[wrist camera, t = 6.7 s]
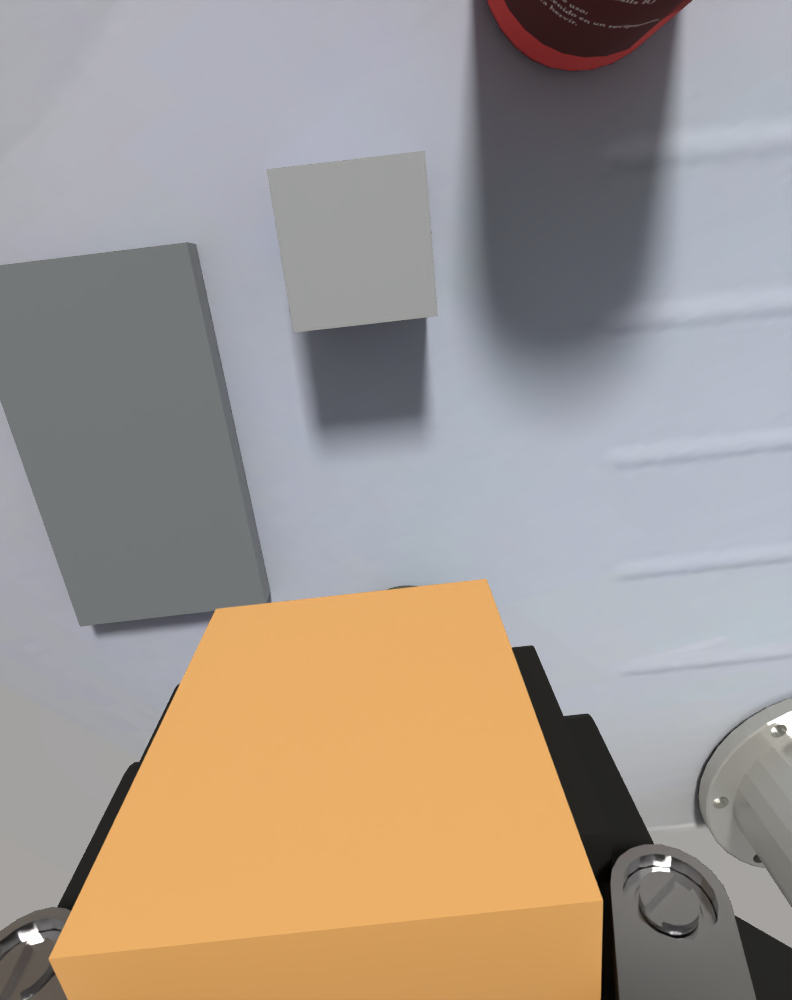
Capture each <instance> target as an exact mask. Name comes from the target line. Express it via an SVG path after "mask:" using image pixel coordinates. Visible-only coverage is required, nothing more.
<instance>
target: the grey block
mask: <svg viewBox="0 0 792 1000" xmlns="http://www.w3.org/2000/svg"><path fill="white" fill-rule="evenodd" d="M267 174H268V180H269V186H270V192H271V198H272V204H273V211H274V217H275V223H276V229H277V235H278V241H279V247H280V253H281V259H282V266H283V272H284V278H285V284H286V290H287V296H288V302H289V308H290V314H291V321H292V327H293V333H295V332H304V331H312V330H321V329H330V328H339V327H347V326H356V325H365V324H374V323H382V322H391V321H400V320H408V319H417V318H426V317H435V316H438V314H437V301H436V289H435V276H434V264H433V251H432V238H431V226H430V213H429V200H428V188H427V175H426V163H425V151H420V152H412V153H403V154H395V155H386V156H377V157H369V158H360V159H352V160H343V161H335V162H326V163H318V164H309V165H300V166H292V167H283V168H275V169H267Z"/></svg>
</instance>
